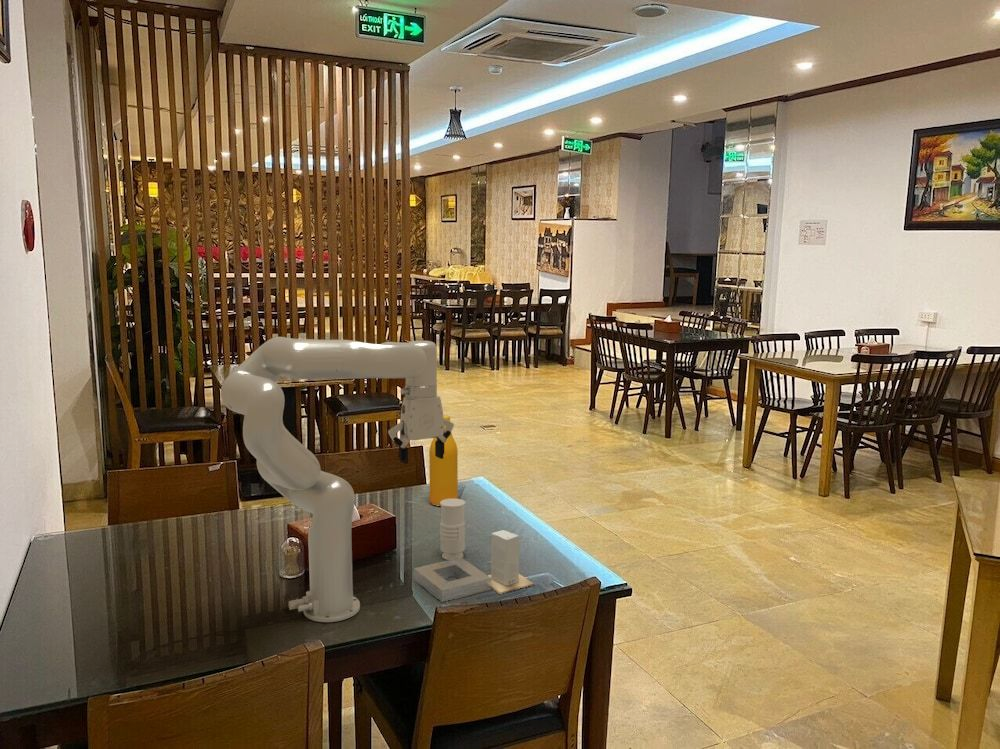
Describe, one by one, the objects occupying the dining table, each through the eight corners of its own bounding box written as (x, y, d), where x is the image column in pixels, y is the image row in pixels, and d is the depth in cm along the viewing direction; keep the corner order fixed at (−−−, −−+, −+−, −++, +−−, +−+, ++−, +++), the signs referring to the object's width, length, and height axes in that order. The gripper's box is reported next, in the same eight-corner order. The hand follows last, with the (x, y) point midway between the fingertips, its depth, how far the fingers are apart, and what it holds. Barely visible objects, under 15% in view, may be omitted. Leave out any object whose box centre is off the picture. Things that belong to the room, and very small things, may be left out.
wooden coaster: (499, 594, 182) (499, 592, 182) (478, 579, 191) (478, 577, 191) (534, 585, 188) (534, 583, 188) (511, 571, 196) (511, 569, 196)
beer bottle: (426, 506, 246) (425, 418, 242) (433, 497, 256) (433, 413, 251) (454, 508, 245) (454, 420, 241) (460, 499, 254) (460, 414, 250)
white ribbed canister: (450, 562, 201) (450, 508, 199) (434, 555, 206) (434, 501, 204) (470, 556, 206) (470, 502, 203) (455, 549, 211) (454, 496, 209)
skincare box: (519, 582, 188) (520, 535, 186) (506, 586, 185) (507, 539, 184) (502, 574, 193) (503, 529, 191) (490, 579, 190) (490, 533, 188)
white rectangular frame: (441, 602, 178) (441, 590, 178) (413, 579, 191) (413, 568, 190) (491, 589, 185) (491, 577, 185) (460, 568, 198) (460, 557, 197)
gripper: (395, 397, 178) (396, 468, 180) (460, 391, 187) (460, 458, 189) (382, 392, 184) (383, 461, 186) (445, 386, 193) (445, 452, 196)
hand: (421, 460), depth 188 cm, fingers open, 9 cm apart
